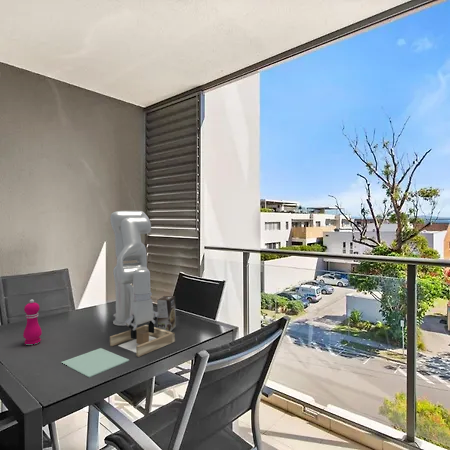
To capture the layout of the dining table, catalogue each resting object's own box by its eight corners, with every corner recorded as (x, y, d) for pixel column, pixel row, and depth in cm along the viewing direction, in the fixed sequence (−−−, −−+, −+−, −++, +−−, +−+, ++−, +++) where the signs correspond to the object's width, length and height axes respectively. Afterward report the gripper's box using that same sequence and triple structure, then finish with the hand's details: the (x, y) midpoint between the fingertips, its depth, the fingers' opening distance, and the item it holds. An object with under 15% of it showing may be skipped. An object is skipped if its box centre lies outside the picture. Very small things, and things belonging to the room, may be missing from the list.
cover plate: (117, 347, 147) (117, 334, 147) (146, 336, 159) (146, 324, 159) (138, 355, 138) (137, 341, 138) (166, 343, 151) (166, 330, 151)
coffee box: (169, 333, 162) (169, 300, 161) (157, 332, 163) (156, 299, 163) (176, 327, 171) (175, 295, 170) (164, 326, 172) (163, 295, 172)
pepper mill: (45, 341, 153) (44, 298, 153) (31, 347, 146) (30, 301, 146) (33, 339, 155) (32, 296, 155) (19, 345, 149) (18, 300, 148)
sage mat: (61, 363, 130) (61, 362, 130) (100, 348, 143) (100, 348, 143) (89, 377, 118) (89, 376, 118) (129, 360, 131) (129, 359, 131)
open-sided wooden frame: (109, 345, 147) (109, 336, 147) (146, 332, 163) (145, 324, 163) (138, 356, 135) (138, 347, 135) (174, 341, 151) (174, 333, 151)
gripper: (151, 292, 157) (152, 328, 157) (120, 299, 144) (121, 339, 144) (162, 294, 153) (163, 331, 153) (131, 302, 139) (131, 343, 139)
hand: (142, 335), depth 148 cm, fingers open, 9 cm apart
